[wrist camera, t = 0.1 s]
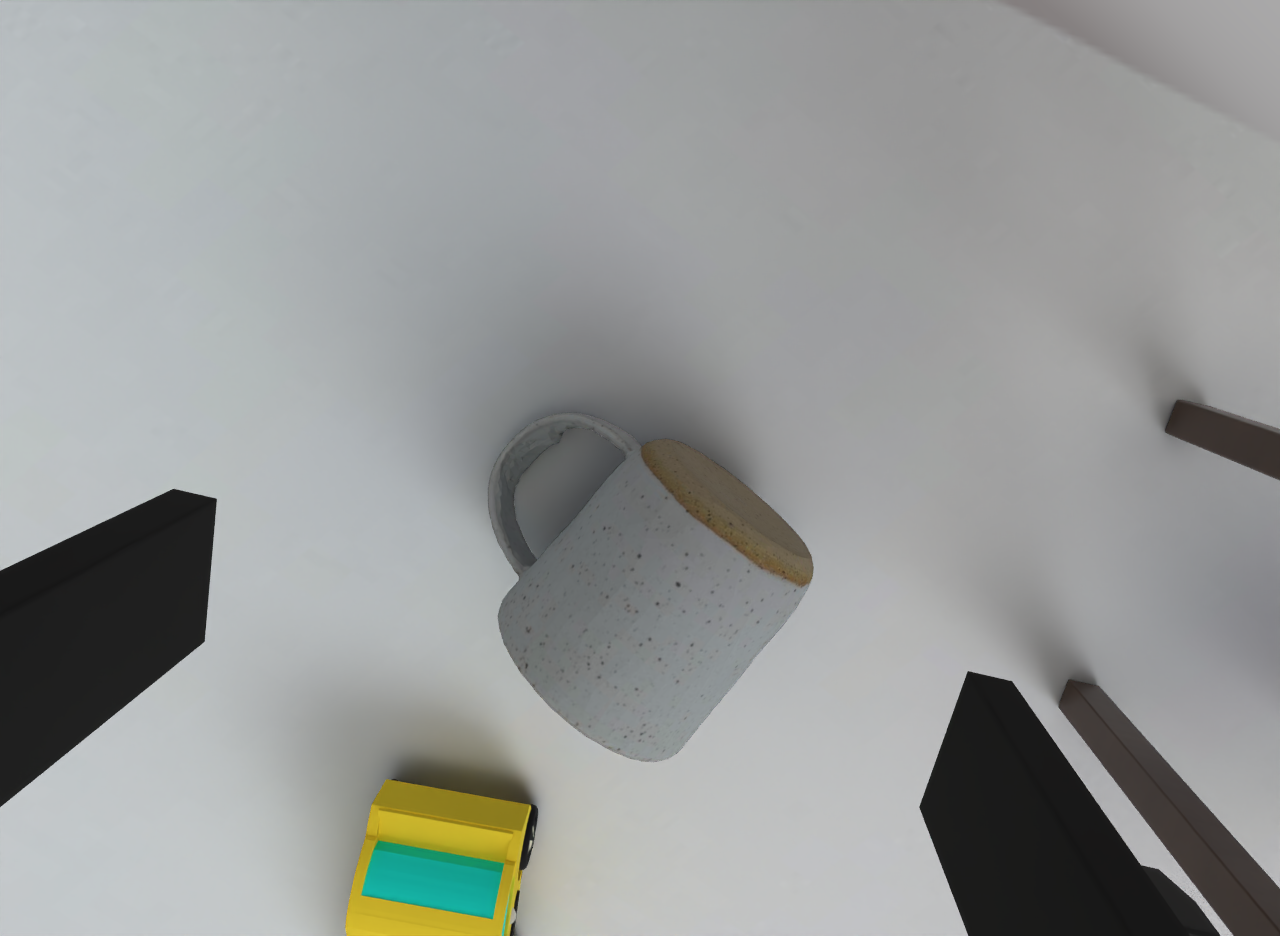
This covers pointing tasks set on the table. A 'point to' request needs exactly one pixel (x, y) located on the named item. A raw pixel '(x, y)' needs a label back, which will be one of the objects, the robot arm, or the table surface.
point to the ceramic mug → (644, 589)
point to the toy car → (440, 864)
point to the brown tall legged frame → (1207, 852)
